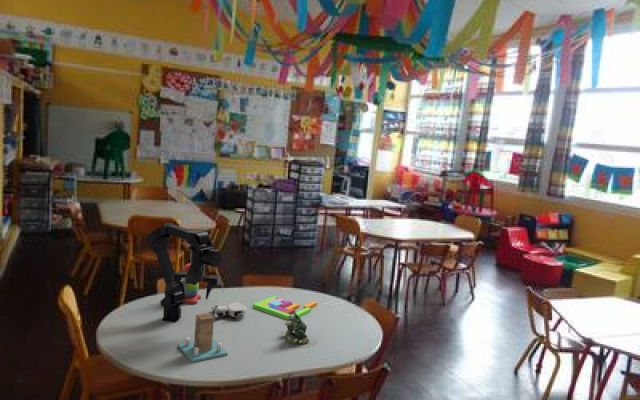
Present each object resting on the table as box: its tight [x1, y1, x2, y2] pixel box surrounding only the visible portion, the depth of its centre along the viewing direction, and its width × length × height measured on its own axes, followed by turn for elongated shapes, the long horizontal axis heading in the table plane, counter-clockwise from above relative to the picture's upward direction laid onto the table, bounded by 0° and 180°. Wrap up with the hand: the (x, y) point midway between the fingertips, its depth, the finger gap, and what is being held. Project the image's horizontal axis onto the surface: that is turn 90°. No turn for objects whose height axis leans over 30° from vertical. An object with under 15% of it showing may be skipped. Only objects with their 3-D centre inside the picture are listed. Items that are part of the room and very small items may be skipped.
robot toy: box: [211, 301, 247, 319], centre depth 228 cm, size 12×4×15 cm
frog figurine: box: [284, 312, 317, 348], centre depth 210 cm, size 18×18×12 cm
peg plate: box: [177, 336, 229, 364], centre depth 192 cm, size 14×14×4 cm
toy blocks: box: [252, 295, 318, 321], centre depth 245 cm, size 23×2×25 cm
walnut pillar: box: [193, 312, 215, 352], centre depth 191 cm, size 5×5×13 cm
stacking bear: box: [182, 262, 202, 305], centre depth 241 cm, size 11×10×18 cm
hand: (195, 298), depth 209 cm, fingers open, 9 cm apart
